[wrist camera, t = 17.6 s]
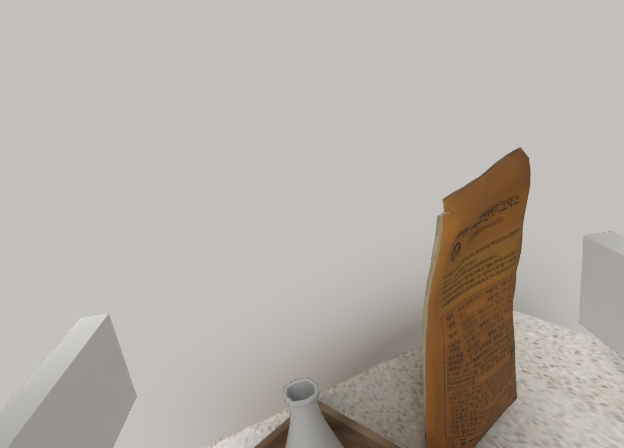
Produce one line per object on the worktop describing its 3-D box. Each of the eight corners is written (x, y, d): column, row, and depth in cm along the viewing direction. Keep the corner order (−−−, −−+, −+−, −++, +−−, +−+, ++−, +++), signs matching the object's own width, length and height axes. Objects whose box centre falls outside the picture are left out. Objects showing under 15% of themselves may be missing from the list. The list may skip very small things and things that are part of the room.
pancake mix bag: (549, 384, 50) (557, 143, 41) (458, 496, 39) (441, 200, 30) (493, 361, 55) (489, 142, 46) (399, 455, 44) (369, 191, 35)
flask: (337, 434, 45) (324, 354, 42) (368, 491, 39) (355, 401, 35) (271, 461, 43) (251, 379, 40) (292, 526, 37) (270, 433, 33)
